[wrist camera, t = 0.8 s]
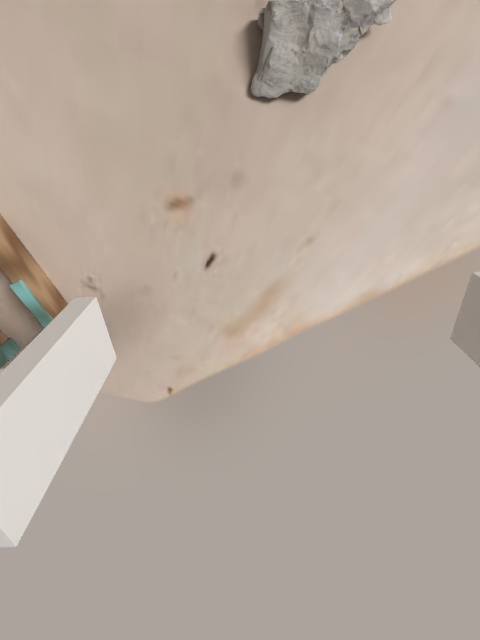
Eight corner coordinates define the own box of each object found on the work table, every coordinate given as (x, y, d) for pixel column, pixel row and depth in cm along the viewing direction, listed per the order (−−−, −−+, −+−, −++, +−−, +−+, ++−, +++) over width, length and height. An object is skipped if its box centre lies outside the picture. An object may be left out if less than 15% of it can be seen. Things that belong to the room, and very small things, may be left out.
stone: (376, 85, 30) (396, 77, 27) (251, 103, 31) (255, 98, 27) (382, -6, 27) (406, -29, 24) (244, 16, 28) (246, -4, 24)
